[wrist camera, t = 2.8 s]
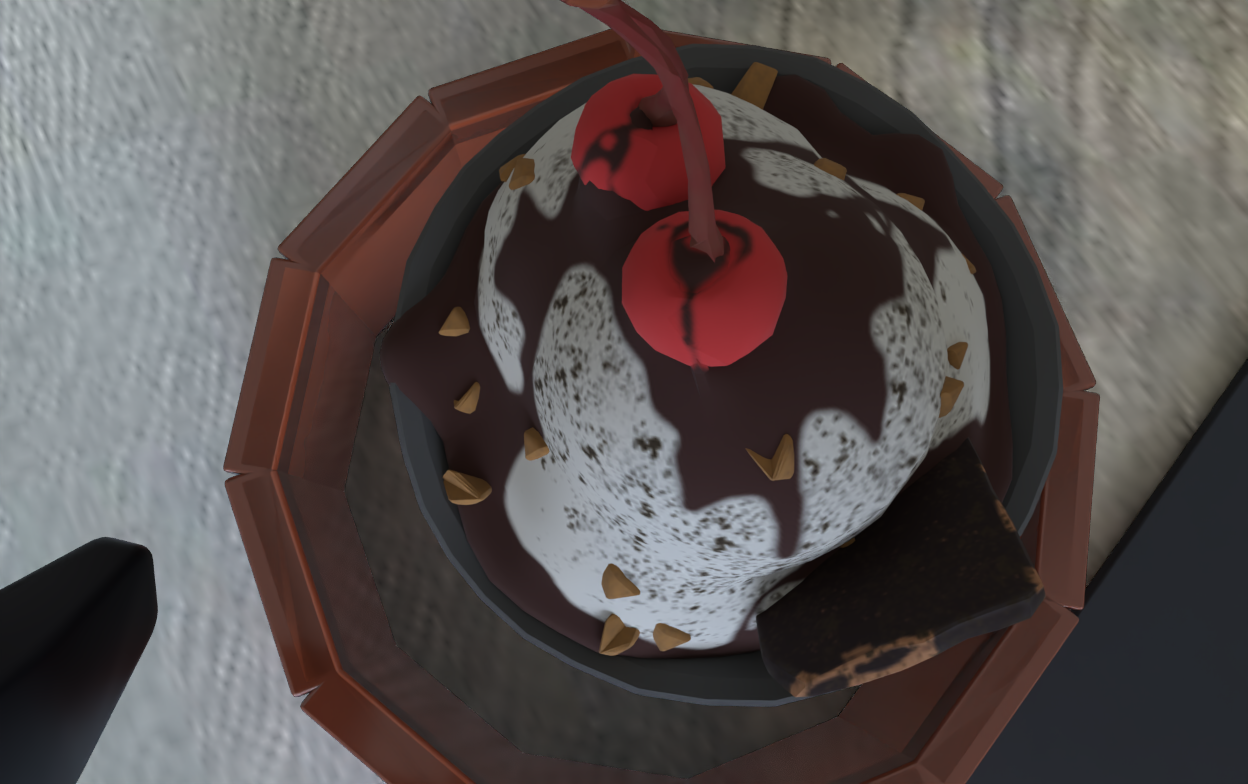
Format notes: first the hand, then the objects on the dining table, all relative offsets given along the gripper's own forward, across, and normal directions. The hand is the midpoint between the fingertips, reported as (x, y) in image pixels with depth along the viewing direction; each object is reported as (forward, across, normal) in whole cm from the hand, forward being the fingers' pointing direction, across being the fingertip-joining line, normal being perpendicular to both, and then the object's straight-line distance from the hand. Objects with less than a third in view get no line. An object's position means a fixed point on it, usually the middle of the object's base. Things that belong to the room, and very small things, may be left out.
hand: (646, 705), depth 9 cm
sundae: (+10, 0, +5) cm, 11 cm away
